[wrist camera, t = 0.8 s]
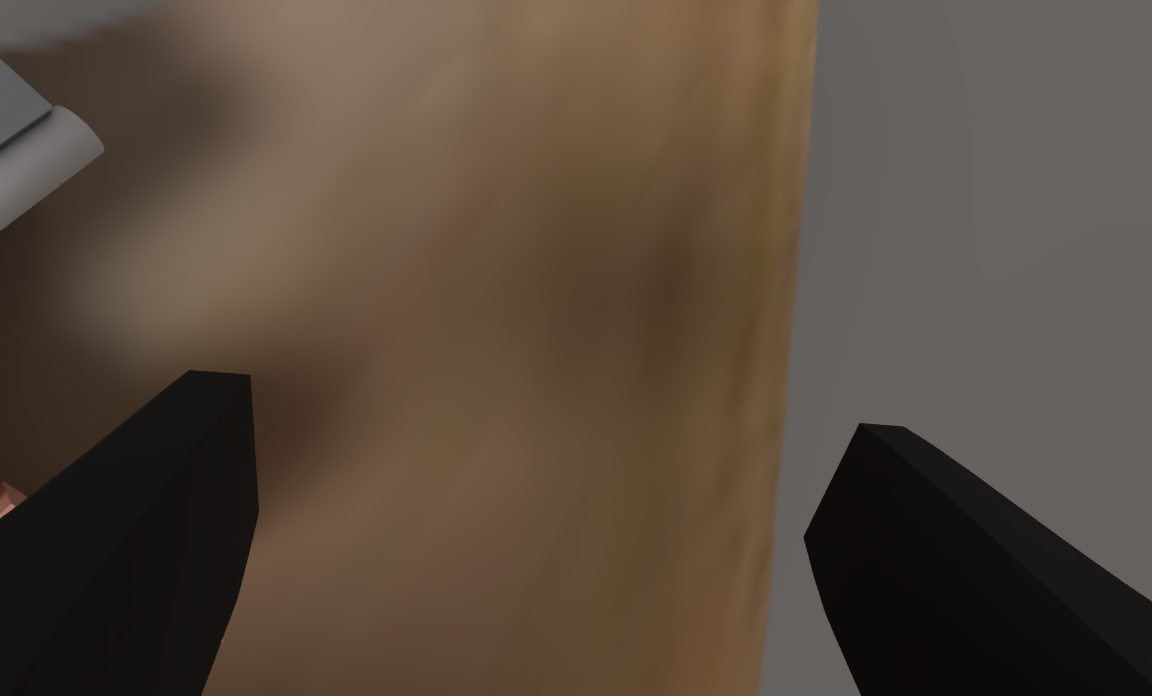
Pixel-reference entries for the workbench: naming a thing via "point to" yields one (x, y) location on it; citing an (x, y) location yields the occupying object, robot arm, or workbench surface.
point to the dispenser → (37, 146)
